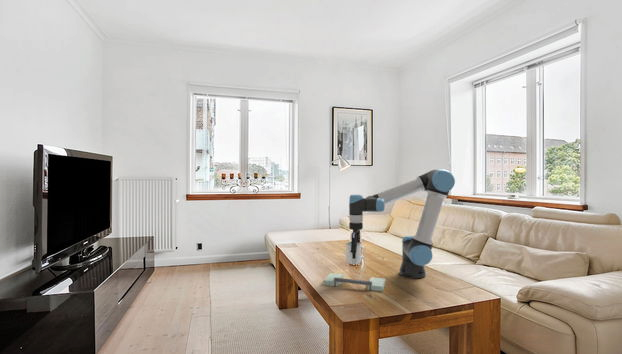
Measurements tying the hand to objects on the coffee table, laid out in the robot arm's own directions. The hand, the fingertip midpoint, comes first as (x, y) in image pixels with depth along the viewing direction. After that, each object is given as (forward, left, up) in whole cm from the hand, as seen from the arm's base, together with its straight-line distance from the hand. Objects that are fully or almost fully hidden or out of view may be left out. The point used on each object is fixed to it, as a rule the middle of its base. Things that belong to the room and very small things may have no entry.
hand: (355, 261), depth 182 cm
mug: (0, -1, -1) cm, 1 cm away
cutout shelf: (0, +4, -11) cm, 12 cm away
